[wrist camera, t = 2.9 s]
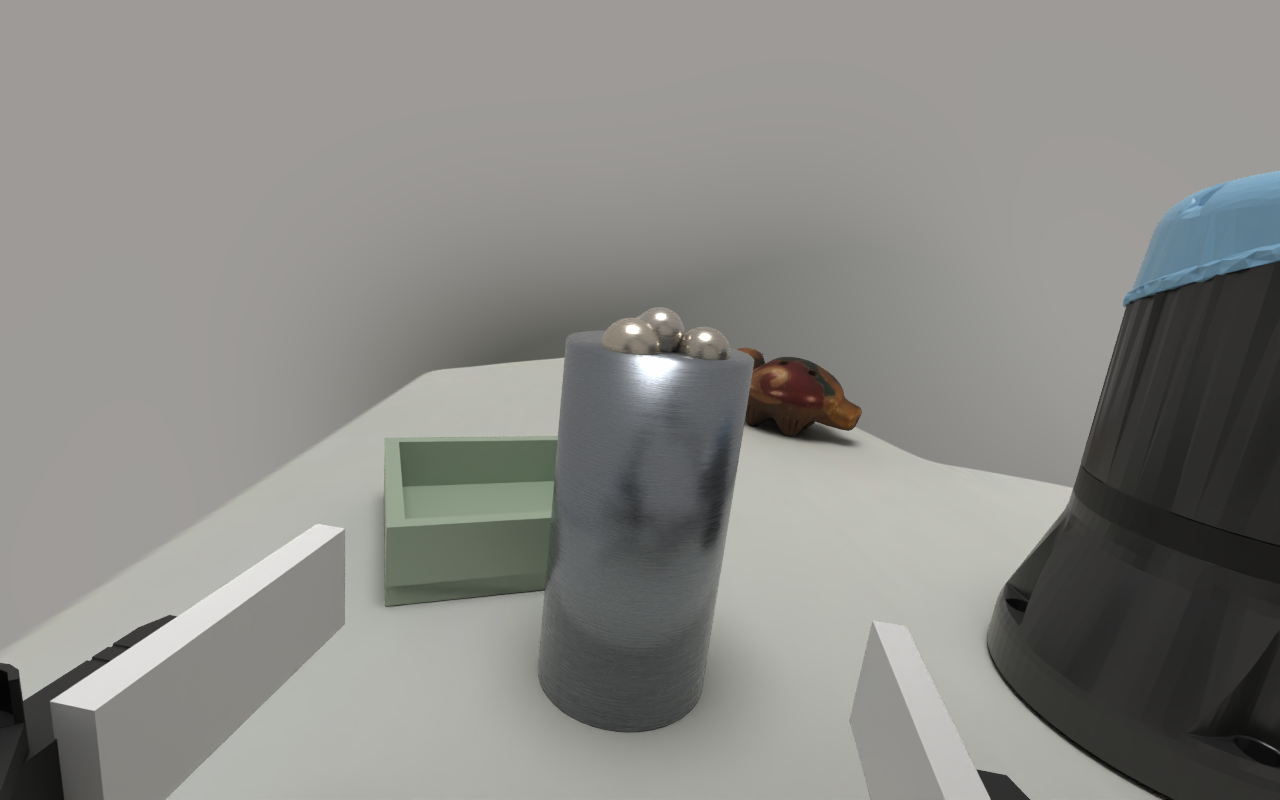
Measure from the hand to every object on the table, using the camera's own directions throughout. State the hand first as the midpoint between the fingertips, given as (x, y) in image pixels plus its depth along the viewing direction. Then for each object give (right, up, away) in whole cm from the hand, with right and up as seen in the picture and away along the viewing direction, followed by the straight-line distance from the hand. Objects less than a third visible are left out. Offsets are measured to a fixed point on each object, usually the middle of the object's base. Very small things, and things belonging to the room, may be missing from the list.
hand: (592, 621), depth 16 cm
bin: (-7, -3, +22) cm, 23 cm away
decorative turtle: (+17, +2, +53) cm, 56 cm away
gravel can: (0, -6, +12) cm, 13 cm away
